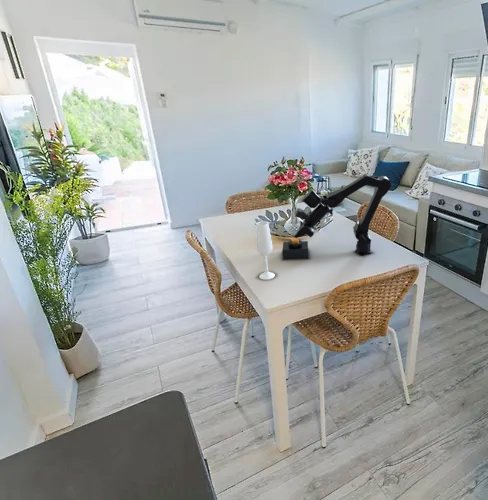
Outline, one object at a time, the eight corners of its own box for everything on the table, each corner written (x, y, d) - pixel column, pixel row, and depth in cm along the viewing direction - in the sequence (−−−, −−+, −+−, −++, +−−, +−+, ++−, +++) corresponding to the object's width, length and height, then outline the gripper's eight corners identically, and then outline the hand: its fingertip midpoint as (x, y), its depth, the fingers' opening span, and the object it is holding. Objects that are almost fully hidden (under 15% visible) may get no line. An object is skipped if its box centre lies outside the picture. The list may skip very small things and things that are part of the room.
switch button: (299, 241, 170) (298, 237, 169) (299, 243, 166) (298, 240, 166) (291, 241, 169) (291, 238, 169) (291, 244, 166) (291, 240, 165)
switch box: (308, 250, 176) (307, 237, 173) (308, 258, 167) (308, 245, 164) (284, 251, 174) (283, 238, 171) (283, 259, 165) (282, 246, 162)
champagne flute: (256, 275, 150) (250, 223, 140) (269, 270, 155) (264, 219, 145) (265, 281, 146) (260, 227, 136) (278, 275, 150) (274, 223, 141)
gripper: (304, 197, 169) (283, 219, 172) (305, 208, 152) (281, 233, 155) (321, 212, 173) (299, 234, 176) (323, 225, 156) (299, 248, 159)
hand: (295, 237), depth 167 cm, fingers closed
